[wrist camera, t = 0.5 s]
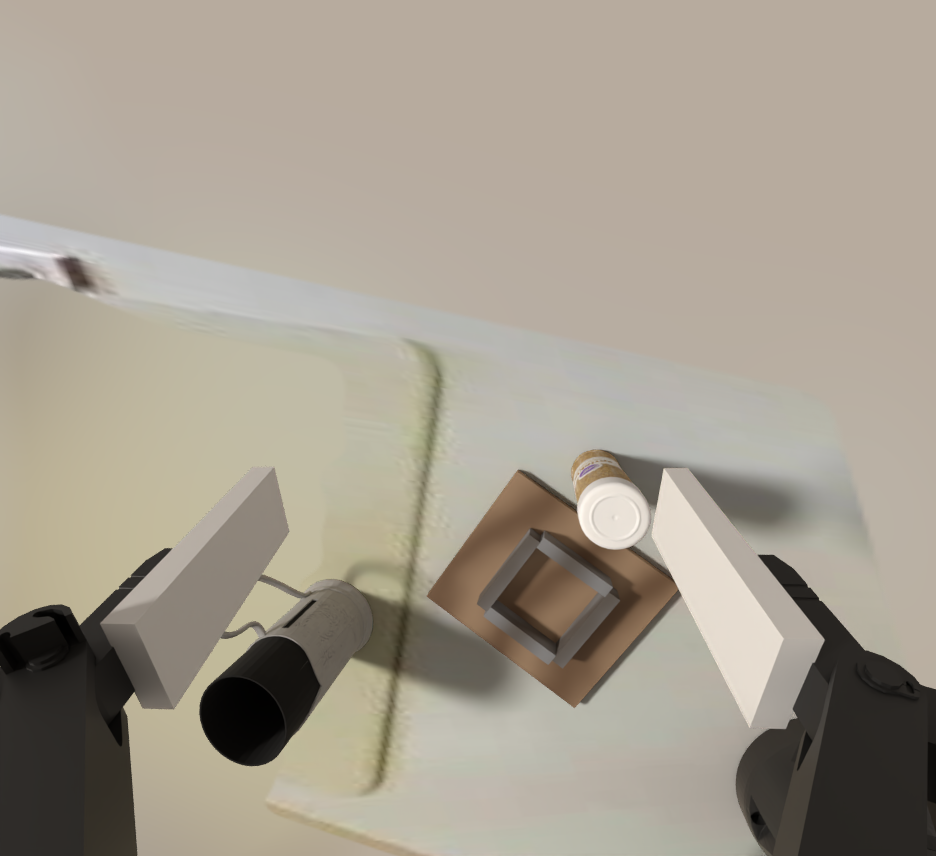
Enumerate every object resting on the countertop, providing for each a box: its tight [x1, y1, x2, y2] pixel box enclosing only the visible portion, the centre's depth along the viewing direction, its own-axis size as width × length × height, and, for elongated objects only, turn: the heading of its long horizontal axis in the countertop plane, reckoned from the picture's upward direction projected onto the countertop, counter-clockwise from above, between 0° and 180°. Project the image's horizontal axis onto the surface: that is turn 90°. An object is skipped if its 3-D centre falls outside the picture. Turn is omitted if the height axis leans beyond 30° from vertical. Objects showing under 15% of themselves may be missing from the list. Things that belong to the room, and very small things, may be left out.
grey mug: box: [200, 575, 373, 766], centre depth 41 cm, size 9×14×15 cm, turn 28°
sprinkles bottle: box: [571, 450, 651, 550], centre depth 35 cm, size 5×5×13 cm
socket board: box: [427, 470, 678, 708], centre depth 43 cm, size 18×16×3 cm
